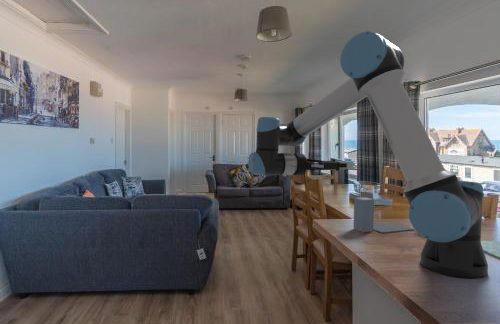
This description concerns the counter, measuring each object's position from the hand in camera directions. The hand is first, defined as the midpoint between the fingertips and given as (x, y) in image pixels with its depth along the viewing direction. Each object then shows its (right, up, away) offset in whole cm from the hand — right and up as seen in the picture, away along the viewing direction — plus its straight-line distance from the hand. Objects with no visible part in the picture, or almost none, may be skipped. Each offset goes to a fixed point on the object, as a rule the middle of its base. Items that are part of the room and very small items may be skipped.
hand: (352, 165), depth 120 cm
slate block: (+5, -25, +4) cm, 25 cm away
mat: (+16, -24, +8) cm, 30 cm away
